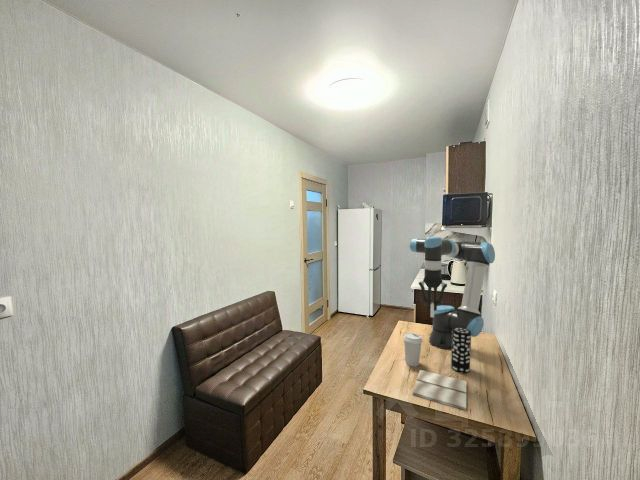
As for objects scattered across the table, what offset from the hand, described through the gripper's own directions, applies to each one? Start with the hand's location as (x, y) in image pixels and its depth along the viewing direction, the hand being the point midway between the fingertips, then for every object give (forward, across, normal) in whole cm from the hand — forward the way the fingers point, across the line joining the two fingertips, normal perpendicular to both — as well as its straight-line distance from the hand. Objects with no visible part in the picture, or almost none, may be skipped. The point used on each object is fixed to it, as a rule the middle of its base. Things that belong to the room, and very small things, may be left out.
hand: (432, 316), depth 132 cm
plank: (+27, -5, +10) cm, 29 cm away
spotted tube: (+28, -12, -8) cm, 32 cm away
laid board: (+27, -5, +20) cm, 34 cm away
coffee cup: (+28, +10, -2) cm, 30 cm away
